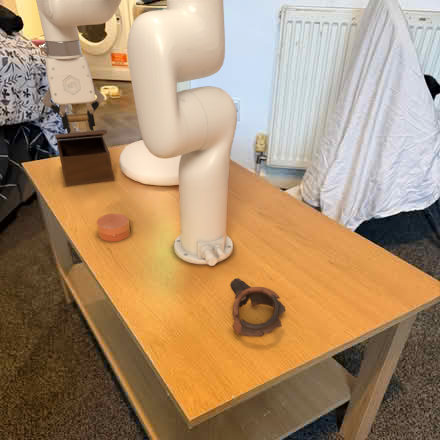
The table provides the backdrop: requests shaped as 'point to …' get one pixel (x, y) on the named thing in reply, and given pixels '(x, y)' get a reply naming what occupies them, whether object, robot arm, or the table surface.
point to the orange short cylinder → (113, 227)
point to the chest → (85, 160)
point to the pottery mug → (257, 297)
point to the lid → (79, 134)
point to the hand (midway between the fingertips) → (80, 129)
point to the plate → (148, 166)
